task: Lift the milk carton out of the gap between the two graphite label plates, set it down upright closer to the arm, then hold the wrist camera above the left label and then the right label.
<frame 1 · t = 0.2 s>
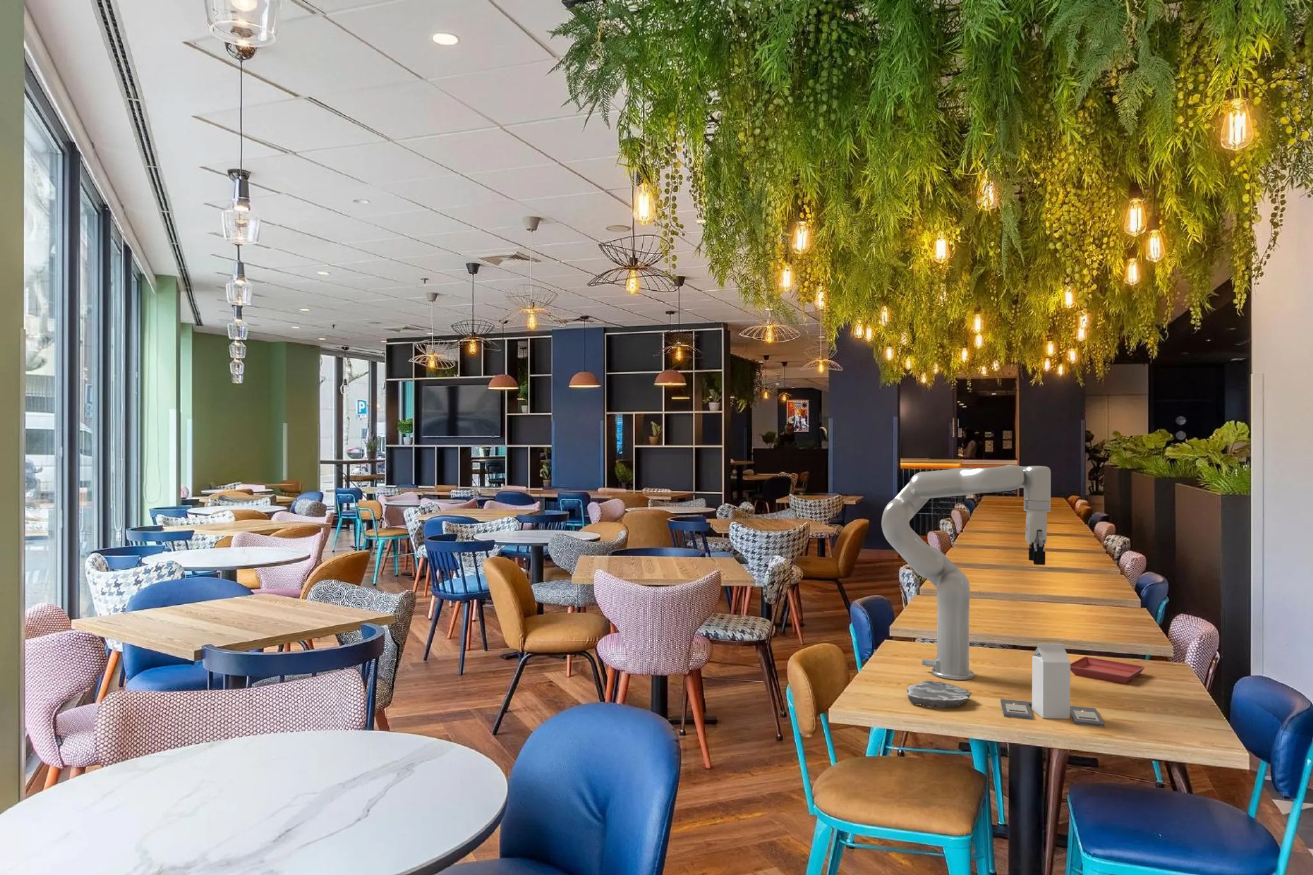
hand: (1036, 562, 259), 37 cm above the table, tool pointing down, fingers open, 9 cm apart
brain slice: (938, 702, 240), on the table
plant saucer: (1105, 676, 270), on the table
label panel: (1050, 714, 228), on the table
milk carton: (1050, 715, 228), on the table
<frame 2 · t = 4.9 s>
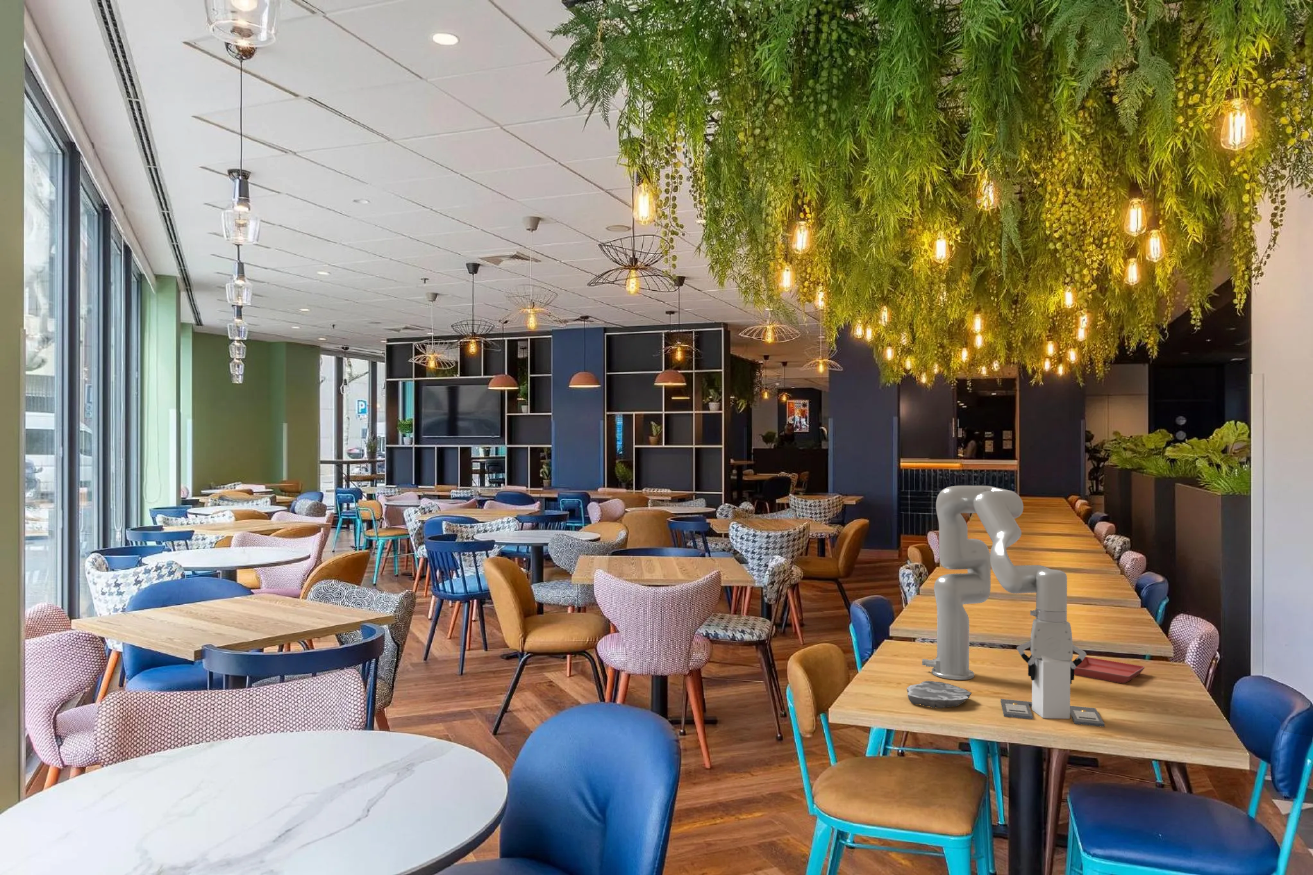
hand: (1050, 680, 228), 9 cm above the table, tool pointing down, fingers closed on milk carton, 8 cm apart
milk carton: (1050, 715, 228), on the table, touching gripper
everything else where it was.
when the fingers open (10 cm above the table, at t = 11.1 s): milk carton drops 1 cm, on the table.
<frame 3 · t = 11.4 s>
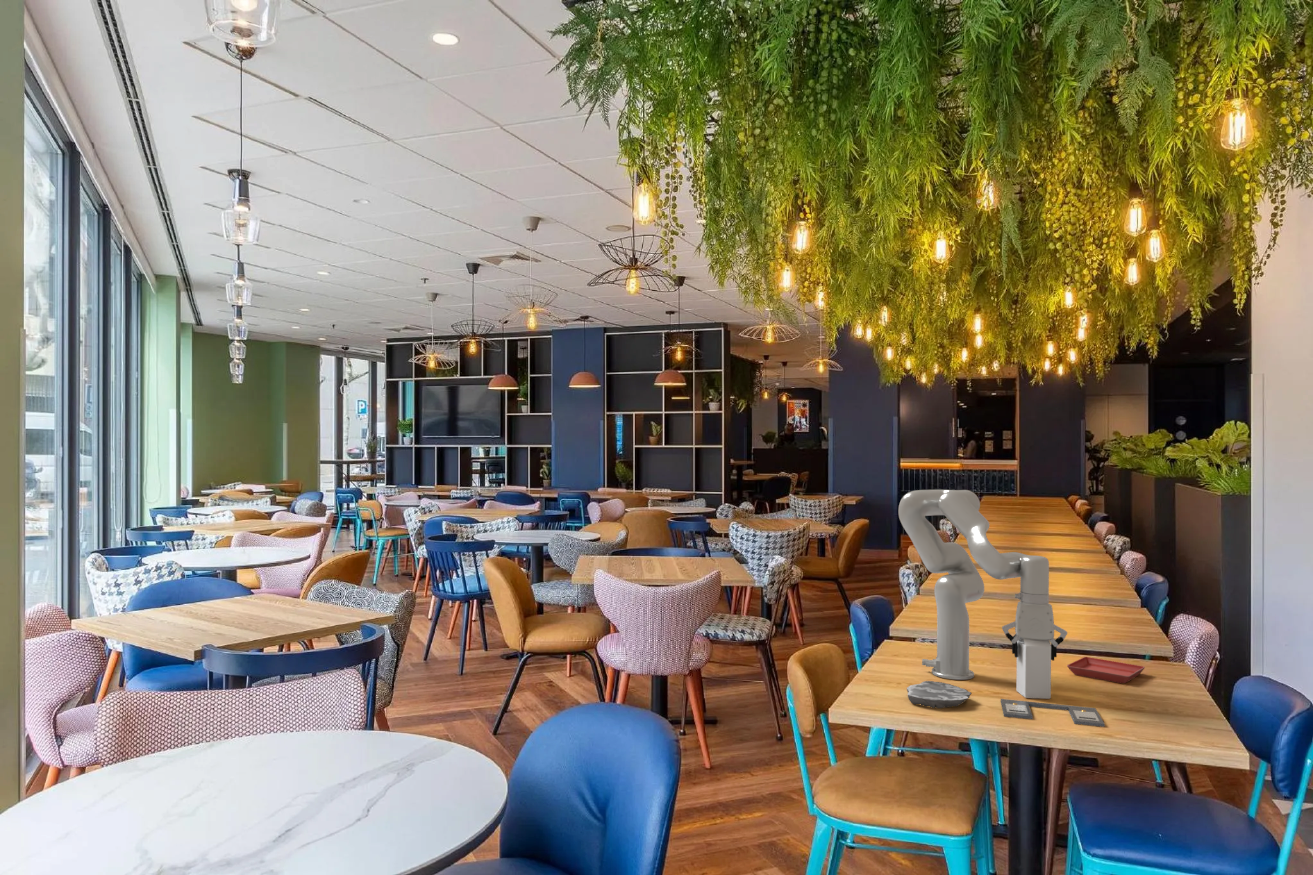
hand: (1034, 657, 246), 11 cm above the table, tool pointing down, fingers open, 9 cm apart
milk carton: (1033, 695, 246), on the table
everything else where it was.
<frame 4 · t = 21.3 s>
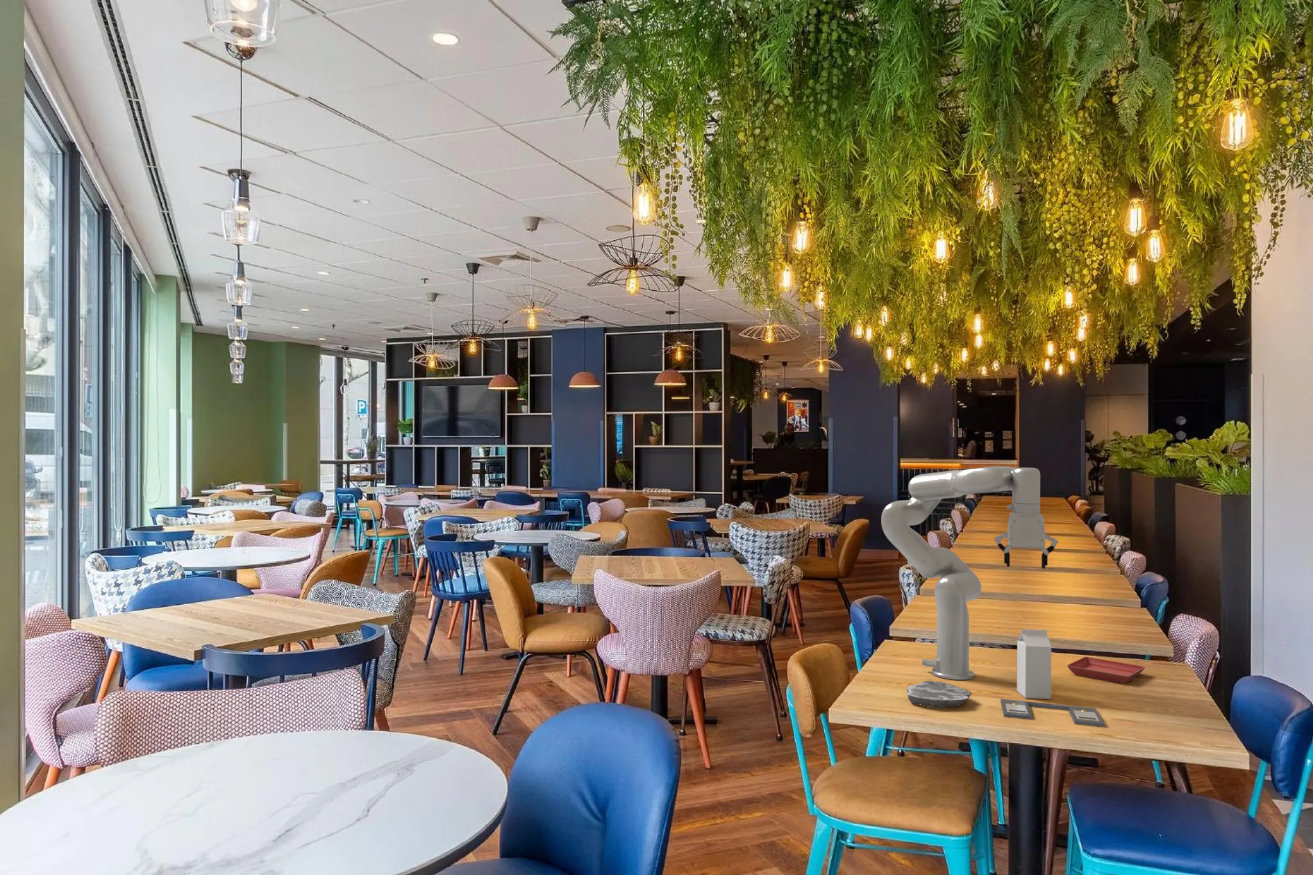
hand: (1025, 567, 252), 36 cm above the table, tool pointing down, fingers open, 9 cm apart
nothing on the table moved.
at the end: milk carton inside the target area (0.0 cm from its centre), on the table; milk carton tilted 0°; the gripper is holding nothing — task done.
